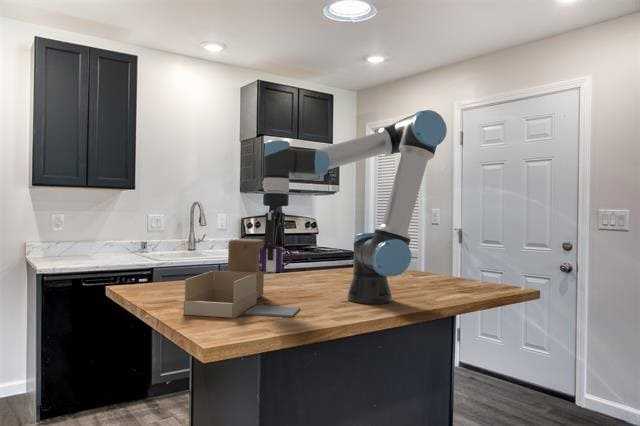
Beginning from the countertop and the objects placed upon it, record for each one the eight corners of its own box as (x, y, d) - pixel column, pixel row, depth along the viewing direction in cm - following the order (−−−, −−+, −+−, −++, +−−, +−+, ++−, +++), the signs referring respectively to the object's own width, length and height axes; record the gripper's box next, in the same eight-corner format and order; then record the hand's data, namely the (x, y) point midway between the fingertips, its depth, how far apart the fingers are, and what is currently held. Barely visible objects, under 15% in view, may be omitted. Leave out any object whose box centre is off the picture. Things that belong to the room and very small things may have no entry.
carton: (256, 303, 150) (257, 272, 150) (233, 318, 129) (234, 282, 129) (212, 300, 153) (213, 270, 153) (183, 314, 132) (183, 279, 132)
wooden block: (254, 301, 154) (255, 241, 154) (226, 299, 156) (227, 240, 156) (264, 296, 164) (265, 239, 164) (237, 294, 166) (238, 238, 166)
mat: (300, 309, 143) (300, 307, 143) (292, 317, 132) (292, 315, 132) (256, 306, 145) (256, 304, 145) (244, 314, 134) (244, 312, 134)
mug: (257, 269, 141) (257, 246, 141) (289, 268, 144) (289, 246, 144) (261, 272, 134) (261, 248, 134) (294, 271, 137) (295, 248, 137)
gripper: (272, 194, 149) (271, 265, 149) (253, 191, 129) (251, 273, 129) (295, 194, 148) (293, 266, 148) (280, 191, 128) (278, 274, 128)
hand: (274, 269), depth 138 cm, fingers closed on mug, 7 cm apart
